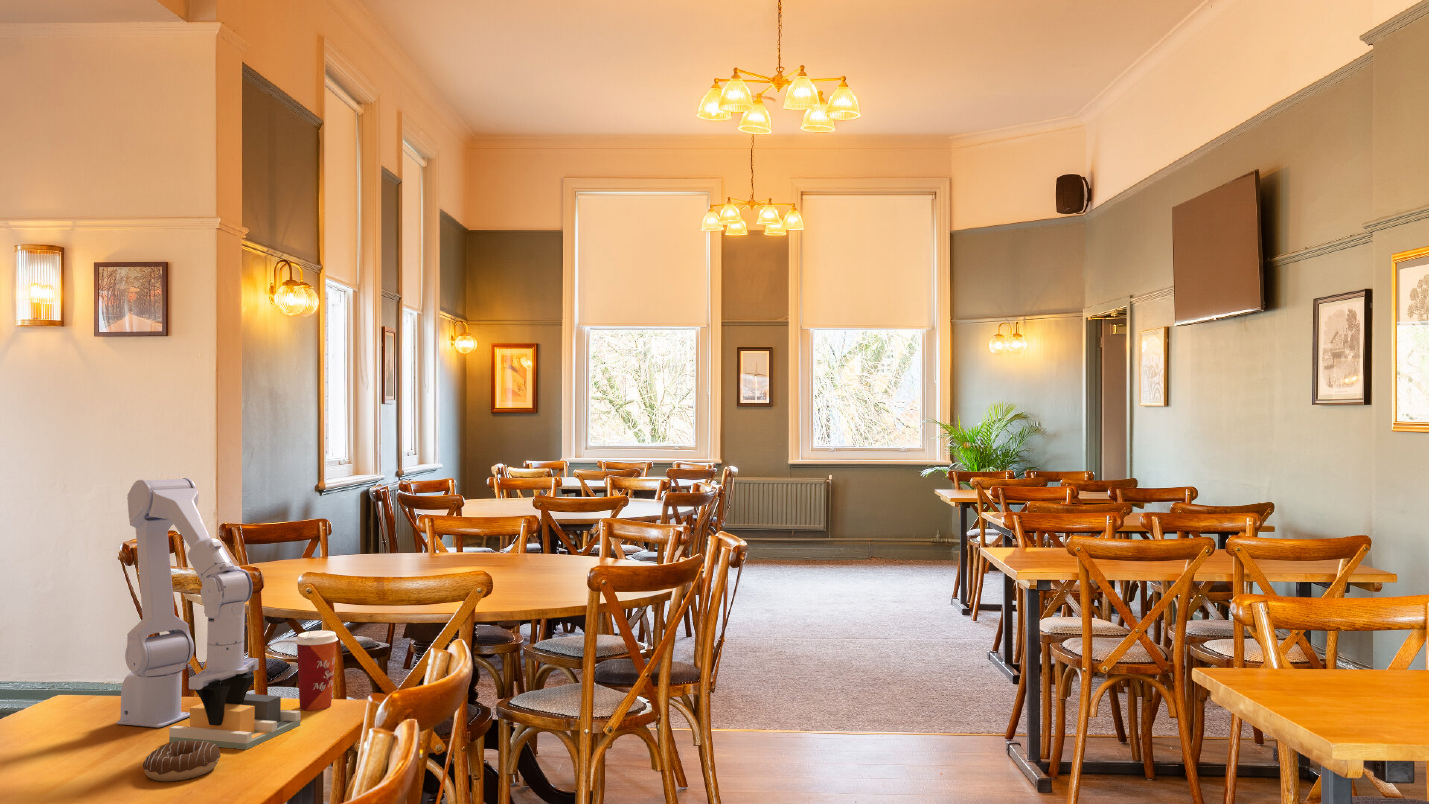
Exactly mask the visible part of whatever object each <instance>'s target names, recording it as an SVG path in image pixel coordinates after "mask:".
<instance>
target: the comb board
mask: <svg viewBox="0 0 1429 804" xmlns="http://www.w3.org/2000/svg"><path fill="white" fill-rule="evenodd" d="M299 726H301V711H300V710H289V709H280V722H278V723H277V721H266V720H255V719H254V733H252V732H242V731H230V730H219V729H208V728H196V727H189V726H185V725H182V726H181V725H173V726H170V727H169V729H168V731H169V733H168V734H169V737H168V739H169V740H168V744H170V743H173V742H178V741H205V742H211V743H213V744H216V745H217V747H218V748H223V749H224V748H225V749H234V748H236V749H235V750H249V749H252V748H253V747H255V746H257V745H260V744H262V743H264V742H266V740H267V741H269V740H271V739H273V738H275V737H278V736H280V735H282V734H284V733H286V732H288V731H290V730H293V729H295V728H297V727H299ZM248 748H249V749H248Z"/></svg>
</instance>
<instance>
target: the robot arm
mask: <svg viewBox="0 0 1429 804" xmlns="http://www.w3.org/2000/svg"><path fill="white" fill-rule="evenodd" d="M198 502H199V490H198V489H197V485H196V484H195V483H194V481H193V479H191V478H190V477H184V478H174V479H172V478H169V479H168V478H167V479H148V480H147V479H146V480H145V479H138V480H135V482H134V483H132V486H131V487H130V490H129V491H128V493H127V508H128V520H129V525H130V527H133V528H135V539H136V540H135V541H136V550H137V551H136V552H137V562H138V563H137V565H138V575H139V576H138V577H139V578H138V579H139V587H140V588H139V589H140V591H139V592H140V601H141V604H140V605H141V614H142V615H141V616H142V620H140V622H139V623H137V624H136V625H135V626H133V628H132V629H131V630H129V632H128V633H127V638H126V639H127V640H126V643H127V644H126V647H125V655H124V659H125V664H126V666H127V668H128V669H129V670H130V671H131V672H130V673H128V674H127V675H126V676H125V677H124V680H123V681H122V684H121V691H120V719H119V720H117V721H116V724H117V725H127V726H136V727H137V726H139V727H147V728H149V727H150V728H163V727H165V726H167V725H168V726H169V725H170V724H173V723H177V722H179V721H181V720H184V719H186V718H190V712H186V711H182V689H183V688H182V682H183V681H182V680H183V678H182V677H183V670H186V669H187V664H188V663H190V662H191V661H192V660H191V659H193V656H194V652H195V644H194V643H195V642H194V640H193V638H192V636H191V633H190V628H189V627H190V625H189V623H188V622H186V621H185V620H183V619H182V618H179V617H178V616H176V614H175V604H174V603H175V601H174V593H173V592H174V591H173V581H172V569H171V568H172V567H171V566H172V565H171V557H170V555H171V554H170V543H169V534H168V532H169V530H170V529H171V528H172V526H174V527H175V528H176V530H177V531H178V533H180V535H181V536H182V538H183V539H184V541H185V542H186V544H187V545H188V546H189V550H188V552H187V559H188V561H189V563H190V564H191V566H192V568H193V570H194V571H195V573H196V575H197V577H198V578H199V580H200V582H201V585H202V586H201V588H200V590H199V591H200V598H201V600H202V603H203V607H204V608H203V609H204V610H203V611H204V612H203V613H204V616H205V617H206V618H207V634H206V635H207V637H206V639H207V640H206V642H207V643H206V667H205V668H204V669H203V670H201V671H200V672H198V673H196V674H195V675H192V676H190V677H189V678H188V689H189V690H194V691H195V692H196V694H197V695H198V696H199V699H200V701H201V703H203V705H204V707H205V710H206V714H207V718H208V722H209V725H215V726H220V725H222V722H223V717H224V707H225V704H237V705H243V701H244V698H245V696H246V694H248V690H249V689H250V687H251V685H252V684H253V682H254V680H255V674H251V673H248V672H251V671H257V670H259V663H260V662H259V661H260V660H259V658H254V657H247V658H245V657H244V655H245V620H246V619H245V613H246V606H245V605H246V603H247V602H249V600H250V599H251V598H252V595H253V590H254V588H253V587H254V585H253V580H252V577H251V575H250V572H249V571H248V570H246V569H243V568H241V567H240V565H235V564H234V562H233V561H232V559H231V557H230V555H229V553H228V552H227V550H226V549H225V547H224V545H223V543H222V542H221V540H219V539H217V538H212V537H211V535H210V534H209V531H208V529H207V527H206V525H205V522H204V520H203V517H202V516H201V514H200V512H199V509H198ZM164 632H167V633H165V634H159V633H164ZM153 634H159V635H153ZM151 635H153V636H151Z"/></svg>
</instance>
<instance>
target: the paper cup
mask: <svg viewBox="0 0 1429 804" xmlns="http://www.w3.org/2000/svg"><path fill="white" fill-rule="evenodd" d="M337 641H339V638H338V637H337V633H336V631H333V630H326V629H325V630H311V631H305V632H301V633H298V635H297V637H296V640H295V642H294V643H295V644H296V651H297V675H298V678H297V679H298V680H297V681H298V697H299V709H300V710H301V711H305V712H314V711H323V710H326V709H329V708H331V706H332V702H333V701H332V699H333V690H334V689H333V687H334V678H335V677H334V676H335V662H336V652H337V650H336V649H337Z"/></svg>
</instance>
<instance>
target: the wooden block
mask: <svg viewBox="0 0 1429 804" xmlns="http://www.w3.org/2000/svg"><path fill="white" fill-rule="evenodd" d="M189 713H190V716H189V726H188V727H196V728H208V729H219V730H230V731H242V732H252V733H254V719H255V706H249V705H237V704H225V707H224V717H223V722H222V725H220V726H215V725H209V722H208V718H207V714H206V710H205V707H204V705H203V702H201V703H199V704H197V705H193V706H190V707H189Z"/></svg>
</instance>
